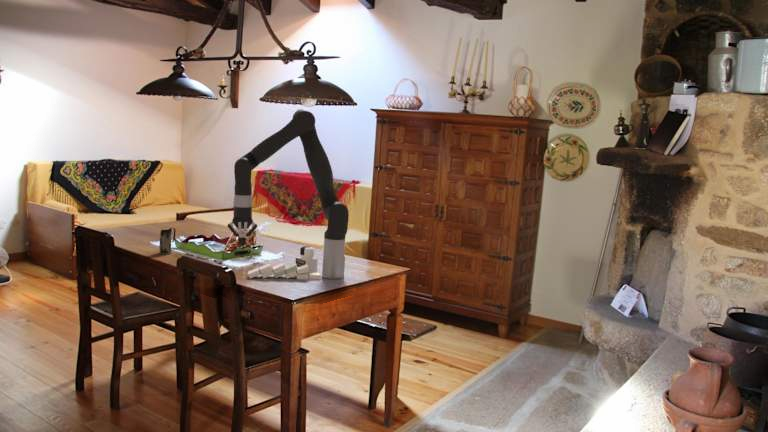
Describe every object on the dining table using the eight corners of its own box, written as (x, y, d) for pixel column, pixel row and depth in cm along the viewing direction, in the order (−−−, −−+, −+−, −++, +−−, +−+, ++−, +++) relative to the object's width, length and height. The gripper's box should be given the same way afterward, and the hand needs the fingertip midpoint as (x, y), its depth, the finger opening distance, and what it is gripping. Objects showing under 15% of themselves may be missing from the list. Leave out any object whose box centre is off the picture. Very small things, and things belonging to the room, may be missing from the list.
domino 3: (275, 275, 278) (297, 266, 279) (275, 278, 273) (297, 269, 274) (274, 271, 278) (295, 262, 278) (273, 274, 273) (295, 265, 274)
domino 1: (249, 275, 275) (271, 267, 277) (249, 278, 270) (272, 270, 272) (247, 271, 275) (270, 263, 276) (248, 274, 270) (270, 265, 271)
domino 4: (286, 275, 279) (308, 267, 280) (286, 278, 274) (308, 270, 275) (285, 271, 279) (307, 263, 279) (285, 274, 274) (307, 266, 274)
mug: (164, 254, 305) (164, 229, 303) (156, 253, 308) (157, 228, 306) (177, 252, 312) (178, 228, 310) (170, 251, 314) (171, 226, 313)
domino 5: (296, 276, 280) (319, 277, 282) (296, 279, 275) (320, 279, 277) (296, 272, 280) (319, 272, 282) (297, 274, 275) (320, 275, 277)
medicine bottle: (294, 272, 287) (296, 246, 285) (307, 270, 292) (308, 245, 290) (304, 275, 282) (305, 249, 280) (317, 274, 287) (318, 247, 285)
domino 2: (262, 275, 277) (284, 267, 278) (263, 278, 272) (285, 269, 273) (261, 271, 276) (282, 262, 278) (261, 274, 271) (283, 265, 273)
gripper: (226, 206, 264) (226, 247, 267) (259, 206, 267) (258, 247, 270) (226, 203, 271) (226, 244, 274) (258, 204, 275) (257, 244, 277)
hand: (242, 245), depth 272 cm, fingers closed
